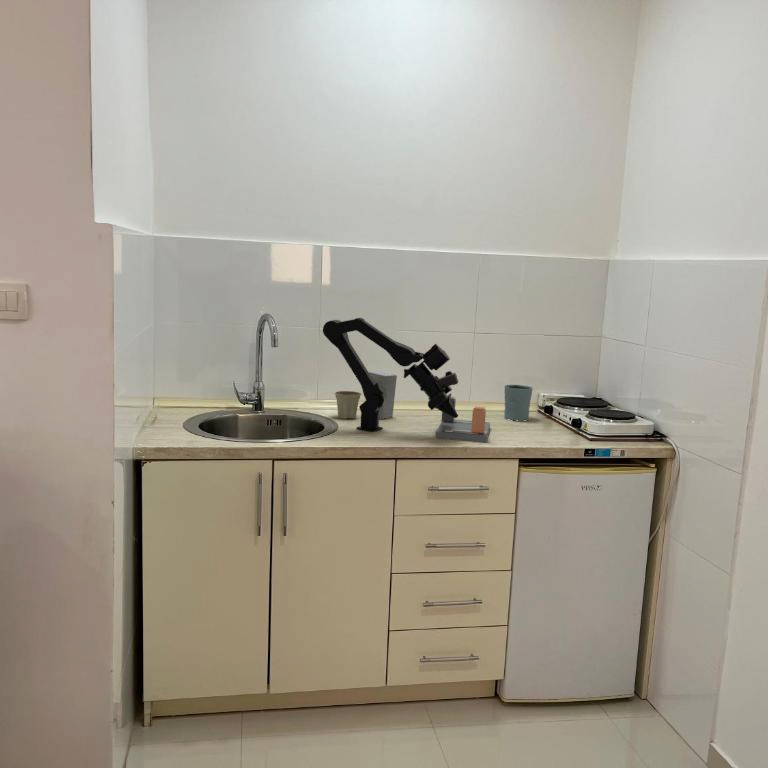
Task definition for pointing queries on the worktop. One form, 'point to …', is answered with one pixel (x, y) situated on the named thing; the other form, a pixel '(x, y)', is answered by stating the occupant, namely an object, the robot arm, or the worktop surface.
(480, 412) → the switch knob
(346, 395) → the flower pot
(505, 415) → the blue-grey tapered cup
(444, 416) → the switch knob
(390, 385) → the grey vase
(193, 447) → the worktop surface
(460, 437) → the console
